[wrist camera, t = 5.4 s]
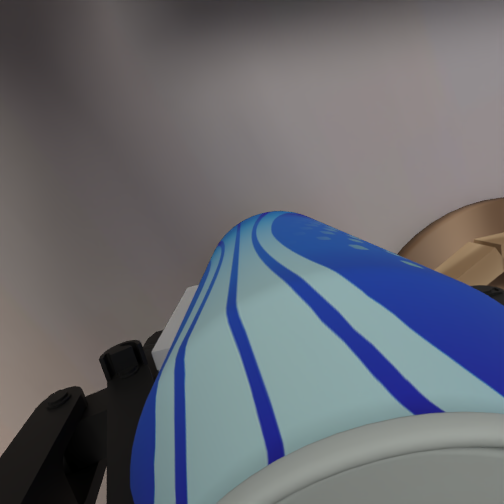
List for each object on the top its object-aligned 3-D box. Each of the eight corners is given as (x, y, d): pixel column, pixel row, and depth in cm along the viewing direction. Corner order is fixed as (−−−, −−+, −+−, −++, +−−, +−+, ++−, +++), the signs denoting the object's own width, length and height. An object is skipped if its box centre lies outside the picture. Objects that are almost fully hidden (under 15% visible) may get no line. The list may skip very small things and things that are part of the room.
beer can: (183, 256, 19) (-137, 621, 3) (298, 182, 18) (703, 136, 2) (255, 357, 20) (299, 942, 4) (363, 293, 19) (865, 727, 4)
